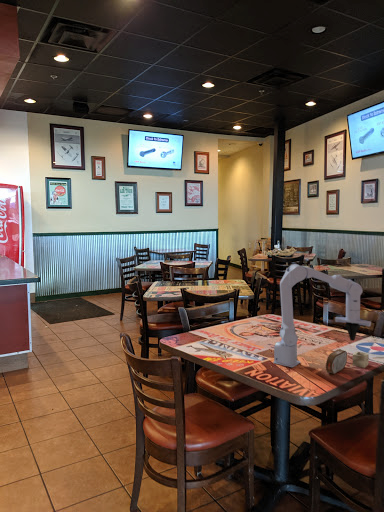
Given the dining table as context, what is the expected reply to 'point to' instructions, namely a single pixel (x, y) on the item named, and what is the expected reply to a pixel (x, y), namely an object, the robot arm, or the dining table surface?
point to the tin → (336, 361)
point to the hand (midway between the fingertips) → (352, 340)
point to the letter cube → (360, 359)
